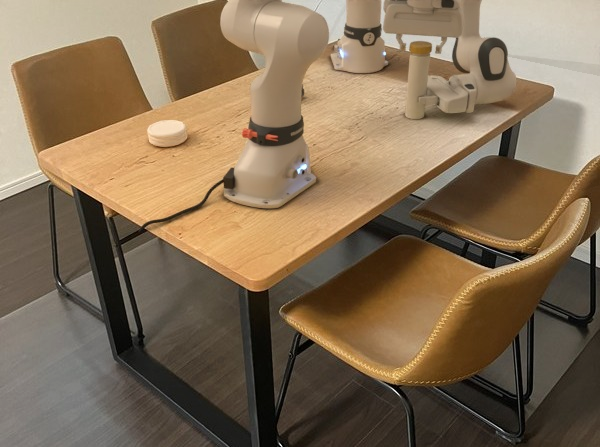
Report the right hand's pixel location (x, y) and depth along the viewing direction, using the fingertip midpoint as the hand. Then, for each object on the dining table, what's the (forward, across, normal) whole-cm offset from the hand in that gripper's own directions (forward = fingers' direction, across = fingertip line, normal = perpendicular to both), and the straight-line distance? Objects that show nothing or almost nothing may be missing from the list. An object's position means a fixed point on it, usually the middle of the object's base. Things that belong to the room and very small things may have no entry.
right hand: (413, 96), depth 169 cm
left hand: (-1, 0, -12) cm, 12 cm away
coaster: (+67, -3, +6) cm, 67 cm away
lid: (-1, 0, -14) cm, 14 cm away
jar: (-1, 0, +6) cm, 6 cm away
